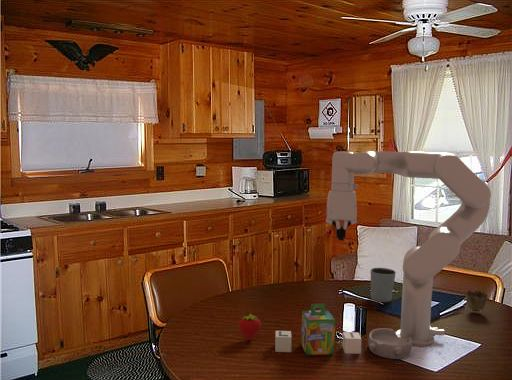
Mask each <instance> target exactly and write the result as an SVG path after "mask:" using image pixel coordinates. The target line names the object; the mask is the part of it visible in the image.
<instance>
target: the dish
mask: <svg viewBox="0 0 512 380" xmlns="http://www.w3.org/2000/svg"><path fill="white" fill-rule="evenodd" d="M367 341H368V348H369V350H370V352H372V353H373V354H374V355H376V356H379V357H381V358H386V359H393V360H402V359H405V358H408V357H409V356H410V355H411V353H412V350H413V349H412V348H413V345H412V339H411V338H410V337H409V338H408V339H407V340H405V341H403V340H401V339H400V338H399V337H398V336H397V335H396V331H395V330H394V329H393V328H386V327H385V328H384V327H383V328H382V327H381V328H375V329H372V330H371V331H370V332H369V335H368V340H367Z"/></svg>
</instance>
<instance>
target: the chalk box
mask: <svg viewBox="0 0 512 380" xmlns="http://www.w3.org/2000/svg"><path fill="white" fill-rule="evenodd" d="M316 308H319V310H318V309H316ZM335 337H336V319H335V318H334V315H332V314H331V313H330V311H329V310H327V309H326V304H325V303H312V304H310V310H302V311H301V337H300V338H301V339H300V345H301V347H302V349H303V352H304V353H305V356H320V355H321V356H324V355H328V356H330V355H334V354H335Z"/></svg>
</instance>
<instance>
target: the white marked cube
mask: <svg viewBox="0 0 512 380" xmlns="http://www.w3.org/2000/svg"><path fill="white" fill-rule="evenodd" d="M274 334H275V337H274V338H275V340H274V345H275V346H274V349H275V350H274V351H275V353H277V352H278V353H292V339H293V338H292V331H291V330H275V333H274Z"/></svg>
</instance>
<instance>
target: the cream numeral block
mask: <svg viewBox="0 0 512 380" xmlns="http://www.w3.org/2000/svg"><path fill="white" fill-rule="evenodd" d="M342 349H343V352H344V354H355V355H356V354H361V353H362V337H361V336H360V333H359V332H357V331H356V332H355V331H354V332H351V331H350V332H349V331H348V332H347V331H343V332H342Z"/></svg>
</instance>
